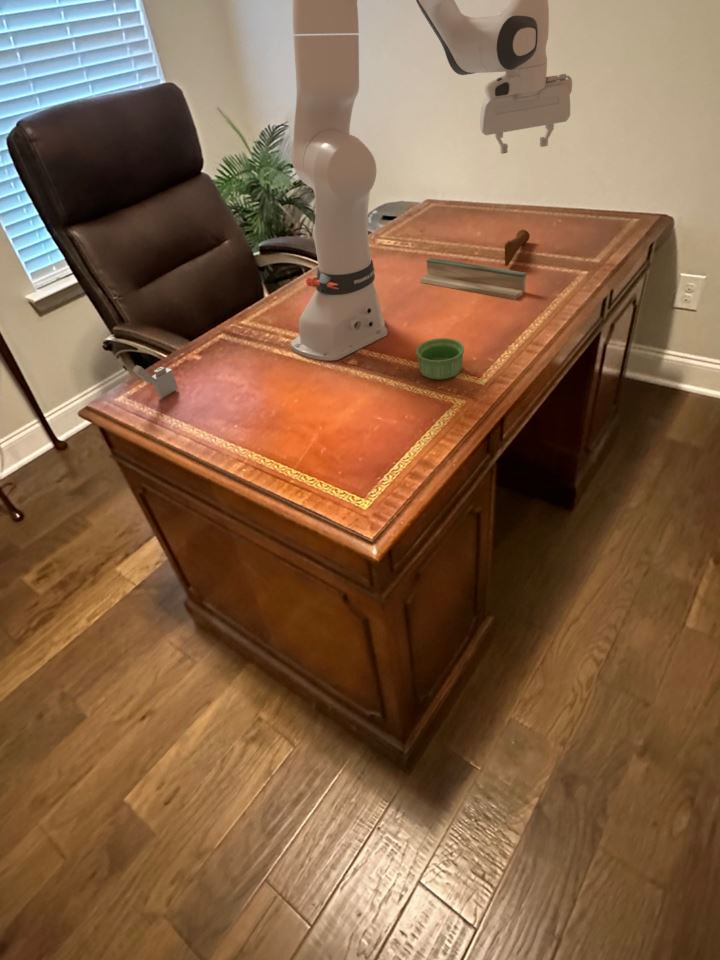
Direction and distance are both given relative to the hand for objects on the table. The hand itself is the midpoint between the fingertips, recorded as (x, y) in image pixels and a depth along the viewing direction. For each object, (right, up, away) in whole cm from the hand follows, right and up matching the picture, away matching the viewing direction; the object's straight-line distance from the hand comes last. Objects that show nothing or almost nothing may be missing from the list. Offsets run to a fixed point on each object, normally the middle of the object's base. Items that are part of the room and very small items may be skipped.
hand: (523, 149), depth 140 cm
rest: (-13, -33, 0) cm, 35 cm away
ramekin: (-24, -58, -27) cm, 68 cm away
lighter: (-79, -62, -22) cm, 103 cm away
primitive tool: (0, -24, +12) cm, 27 cm away
